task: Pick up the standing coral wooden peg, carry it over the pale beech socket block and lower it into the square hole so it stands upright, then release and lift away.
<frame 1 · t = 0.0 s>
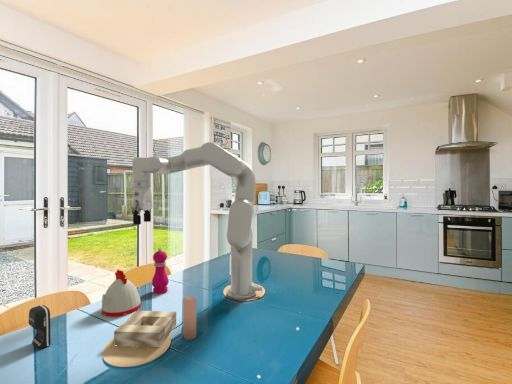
hand: (142, 222, 128), 31 cm above the table, tool pointing down, fingers open, 9 cm apart
black coffee maker: (39, 345, 85), on the table
socket block: (147, 334, 91), on the table
white dome: (121, 309, 111), on the table
peg: (190, 336, 90), on the table
pepper mill: (160, 292, 128), on the table
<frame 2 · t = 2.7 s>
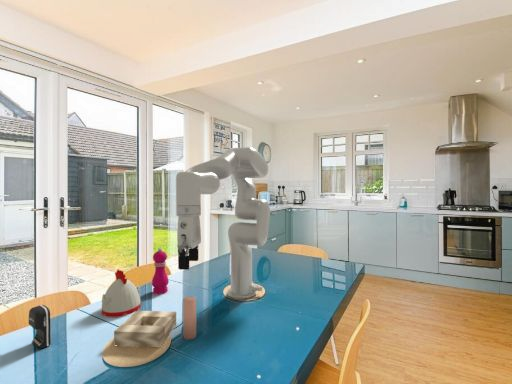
hand: (188, 264, 89), 23 cm above the table, tool pointing down, fingers open, 9 cm apart
nothing on the table moved.
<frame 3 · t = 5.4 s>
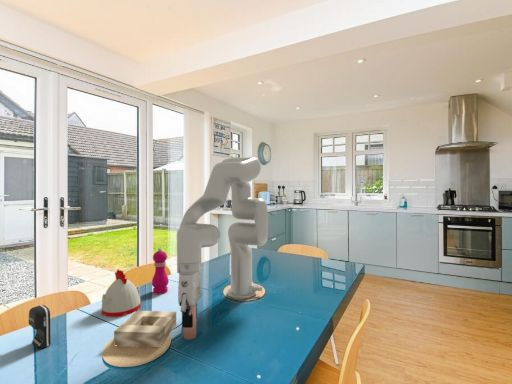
hand: (189, 322, 90), 4 cm above the table, tool pointing down, fingers closed on peg, 4 cm apart
peg: (190, 336, 90), on the table, touching gripper
everything else where it was.
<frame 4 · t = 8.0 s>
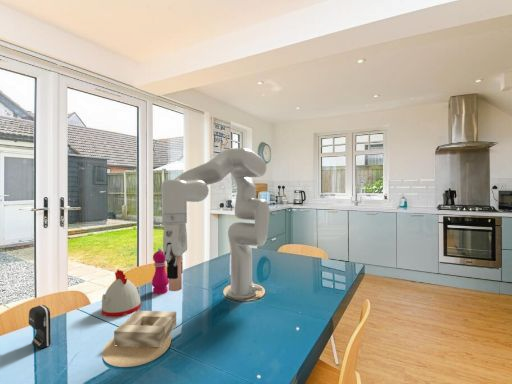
hand: (175, 275, 90), 19 cm above the table, tool pointing down, fingers closed on peg, 4 cm apart
peg: (175, 288, 90), point 15 cm above the table, touching gripper
everything else where it was.
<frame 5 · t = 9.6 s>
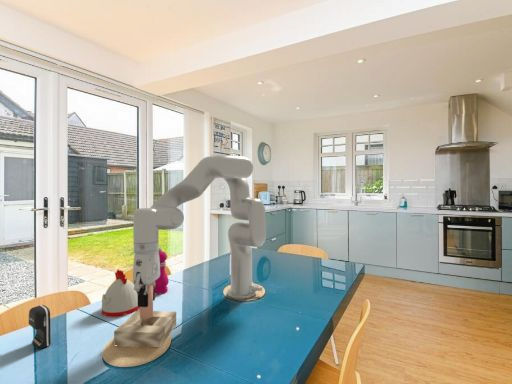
hand: (146, 302, 91), 10 cm above the table, tool pointing down, fingers closed on peg, 4 cm apart
peg: (146, 316, 91), point 6 cm above the table, touching gripper
everything else where it was.
when the fingers open (6 cm above the table, at t = 10.9 s): peg drops 1 cm, resting in socket block.
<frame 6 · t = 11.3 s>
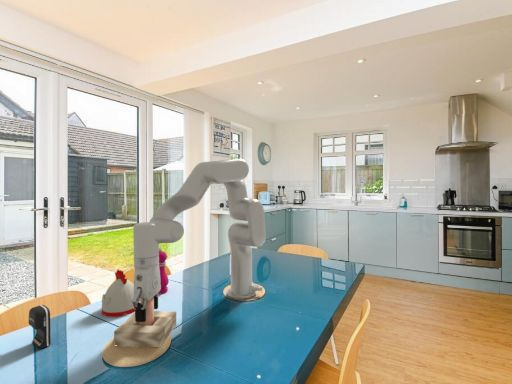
hand: (147, 314, 91), 7 cm above the table, tool pointing down, fingers open, 8 cm apart
peg: (147, 334, 91), resting in socket block
everything else where it was.
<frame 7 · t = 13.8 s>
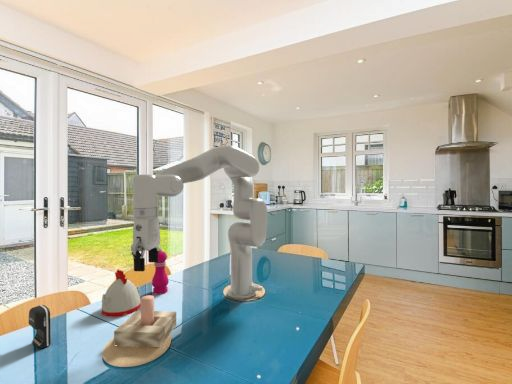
hand: (146, 266, 91), 22 cm above the table, tool pointing down, fingers open, 9 cm apart
nothing on the table moved.
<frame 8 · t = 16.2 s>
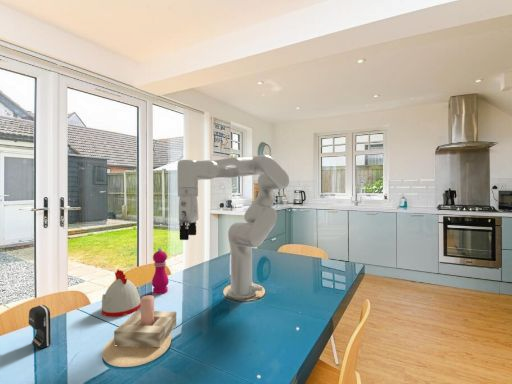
hand: (188, 237, 108), 28 cm above the table, tool pointing down, fingers open, 9 cm apart
nothing on the table moved.
at the end: peg 0.1 cm off-centre on the socket block, point 0.0 cm above the socket block's base; peg tilted 0°; the gripper is holding nothing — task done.
